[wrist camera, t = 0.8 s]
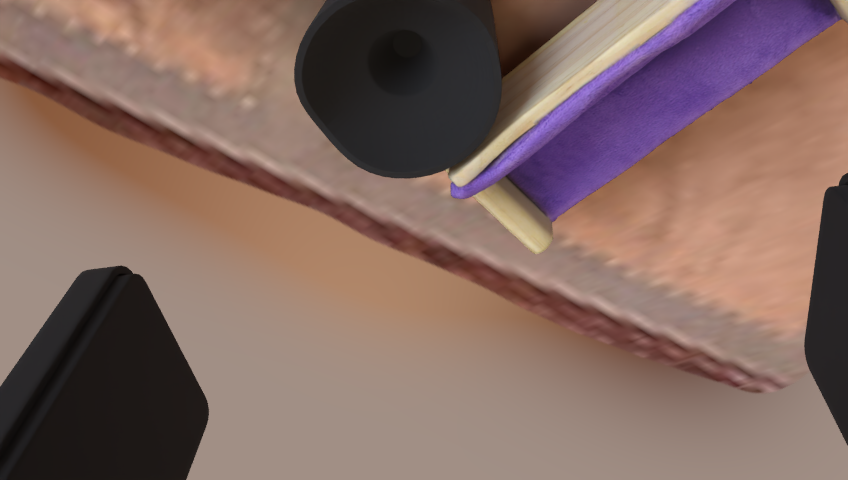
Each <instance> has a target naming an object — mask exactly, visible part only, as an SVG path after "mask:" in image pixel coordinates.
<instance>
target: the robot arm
mask: <svg viewBox="0 0 848 480" xmlns="http://www.w3.org/2000/svg"><path fill="white" fill-rule="evenodd" d="M804 347H805V355H806V360H807V364H808V367H809V369H810V371H811V373H812V375H813V377H814V379H815V381H816V383H817V385H818V387H819V389H820V391H821V393H822V395H823V397H824V399H825V401H826V403H827V405H828V407H829V409H830V411H831V413H832V415H833V417H834V419H835V421H836V423H837V425H838V427H839V429H840V431H841V433H842V435H843V437H844V439H845V441H846V443H847V445H848V173H846V174H845V175H843V176H842V178H841V180H840V182H839V186H834V187H829V188H828V189H827V190H826V192H825V196H824V201H823V208H822V216H821V223H820V231H819V238H818V245H817V253H816V260H815V268H814V275H813V283H812V290H811V297H810V305H809V312H808V320H807V327H806V334H805V345H804ZM208 415H209V409H208V403H207V400H206V397H205V395H204V393H203V391H202V389H201V387H200V386H199V384H198V382H197V380H196V378H195V376H194V374H193V372H192V370H191V368H190V366H189V364H188V362H187V361H186V359H185V357H184V355H183V353H182V351H181V350H180V347H179V345H178V343H177V341H176V339H175V338H174V335H173V334H172V332H171V330H170V328H169V326H168V324H167V322H166V320H165V318H164V316H163V314H162V312H161V310H160V309H159V307H158V305H157V303H156V301H155V299H154V297H153V295H152V293H151V291H150V289H149V288H148V285H147V284H146V282H145V280H144V279H143V277H141V276H140V275H138V274H133V273H132V271H131V270H129V269H128V268H127V267H124V266H115V267H107V268H99V269H91V270H86V271H83V272H82V273H81V274H80V275H79V276H78V277H77V278H76V280H75V281H74V282H73V284H72V285H71V287H70V288H69V290H68V291H67V292H66V294H65V295H64V297H63V298H62V300H61V301H60V302H59V304H58V305H57V307H56V308H55V309H54V311H53V312H52V314H51V315H50V317H49V318H48V319H47V321H46V322H45V324H44V325H43V327H42V328H41V329H40V331H39V332H38V334H37V335H36V337H35V338H34V339H33V341H32V342H31V344H30V345H29V347H28V348H27V349H26V351H25V353H24V354H23V355H22V357H21V358H20V359H19V361H18V362H17V364H16V365H15V366H14V368H13V369H12V371H11V372H10V374H9V375H8V376H7V378H6V379H5V381H4V382H3V384H2V385H1V386H0V480H186V479H187V476H188V473H189V471H190V468H191V465H192V463H193V460H194V457H195V455H196V452H197V449H198V446H199V444H200V441H201V439H202V436H203V433H204V430H205V428H206V425H207V421H208Z"/></svg>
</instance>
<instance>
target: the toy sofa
mask: <svg viewBox="0 0 848 480" xmlns="http://www.w3.org/2000/svg"><path fill="white" fill-rule="evenodd" d="M841 19H843V20H844V21H846V22H847V23H848V0H598V1H597V2H595V3H594V4H593V5H592V6H590V7H589V8H588V9H587V10H585V11H584V12H583V13H582V14H580V15H579V16H578V17H577V18H576V19H574V20H573V21H572V22H571V23H570V24H568V25H567V26H566V27H565V28H564V29H562V30H561V31H560V32H559V33H558V34H556V35H555V36H554V37H553V38H551V39H550V40H549V41H548V42H547V43H545V44H544V45H543V46H542V47H540V48H539V49H538V50H537V51H536V52H534V53H533V54H532V55H531V56H529V57H528V58H527V59H526V60H525V61H523V62H522V63H521V64H520V65H518V66H517V67H516V68H515V69H513V70H512V71H511V72H510V73H509V74H507V75H506V76H505V77H503V78H502V91H501V101H500V106H499V111H498V114H497V116H496V119H495V122H494V124H493V126H492V128H491V130H490V132H489V133H488V135H487V136H486V138H485V139H484V140H483V142H482V143H481V144H480V145H479V146H478V147H477V148H476V150H475V151H474V152H472V153H471V154H470V155H469V156H468V157H466V158H465V159H464V160H462V161H461V162H459V163H458V164H456V165H454V166H452V167H450V168H448V169H446V170H445V171H446V172H447V173H448V176H449V179H450V180H451V181H452V183H451V196H452V197H453V198H459V199H465V198H469V197H471V196H473V197H474V198H475V199H476V200H477V201H478V202H479V203H480V204H481V205H482V206H483V207H484V208H485V209H486V210H487V211H489V212H490V213H491V214H492V215H493V216H494V217H495V218H496V219H497V220H498V221H499V222H500V223H501V224H502V225H503V226H505V227H506V228H507V229H508V230H509V231H510V232H511V233H512V234H513V235H514V236H515V237H516V238H517V239H518V240H519V241H520V242H522V243H523V244H524V245H525V246H526V247H527V248H528V249H529V250H530V251H531V252H533V253H534V254H539V253H541V252H543V251H544V250H545V249H546V248H547V247H548V246H549V245H550V243H551V242H552V240H553V231H552V230H553V229H552V222H553V221H555V220H556V219H557V217H558V216H560V215H561V214H563V213H564V212H566V211H567V210H568V209H570V208H571V207H573V206H574V205H575V204H577V203H578V202H580V201H581V200H583V199H584V198H585V197H587V196H588V195H590V194H591V193H593V192H594V191H596V190H598V189H599V188H600V187H602V186H603V185H605V184H606V183H608V182H609V181H611V180H612V179H614V178H616V177H617V176H618V175H620V174H621V173H623V172H624V171H626V170H627V169H628V168H630V167H631V166H633V165H634V164H636V163H637V162H638V161H640V160H641V159H642V158H644V157H645V156H646V155H648V154H649V153H650V152H651V151H653V150H654V149H655V148H656V147H657V146H659V145H660V144H662V143H663V142H664V141H666V140H667V139H668V138H670V137H671V136H674V135H675V134H676V133H677V132H679V131H681V130H682V129H683V128H685V127H686V126H687V125H689V124H691V123H692V122H694V121H695V120H696V119H697V118H699V117H700V116H702V115H703V114H705V113H706V112H708V111H710V110H712V109H713V108H714V107H715V106H716V105H718V104H719V103H721V102H723V101H724V100H725V99H727V98H729V97H731V96H732V95H734V94H735V93H736V92H738V91H739V90H741V89H742V88H743V87H745V86H746V85H748V84H751V83H752V81H753V80H755V79H756V78H758V77H759V76H760V75H762V74H763V73H765V72H766V71H768V70H769V69H771V68H772V67H773V66H775V65H776V64H778V63H779V62H780V61H782V60H783V59H784V58H785V57H787V56H788V55H790V54H791V53H792V52H793V51H795V50H796V49H797V48H799V47H800V46H802V45H803V44H804V43H806V42H808V41H809V40H810V39H812V38H813V37H815V36H817V35H818V34H820V33H821V32H823V31H824V30H826V29H827V28H828V27H830V26H832V25H833V24H835V23H836V22H837V21H839V20H841Z"/></svg>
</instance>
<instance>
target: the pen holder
mask: <svg viewBox="0 0 848 480" xmlns="http://www.w3.org/2000/svg"><path fill="white" fill-rule="evenodd" d="M294 74H295V86H296V91H297V94H298V97H299V99H300V102H301V104H302V105H303V107H304V109H305V110H306V112H307V113H308V115H309V116H310V117H311V119H312V120H313V121H314V122H315V124H316V125H317V126H318V127H319V128H320V130H321V131H322V132H323V133H324V134H325V136H326V137H327V138H328V139H329V140H330V141H331V142H332V144H333V145H334V146H335V147H336V148H337V149H338V150H339V151H340V152H341V153H342V154H343V155H344V156H345V157H346V158H347V159H349V160H350V161H351V162H353V163H354V164H355V165H357V166H358V167H360V168H362V169H364V170H366V171H368V172H370V173H373V174H377V175H380V176H384V177H391V178H417V177H423V176H428V175H432V174H435V173H438V172H441V171H444V170H446V169H448V168H450V167H452V166H454V165H456V164H458V163H459V162H461V161H462V160H464V159H465V158H466V157H468V156H469V155H470V154H471V153H472V152H474V151H475V150H476V148H477V147H478V146H479V145H480V144H481V143H482V142H483V140H484V139H485V138H486V136H487V135H488V133H489V132H490V130H491V128H492V126H493V124H494V122H495V119H496V116H497V114H498V111H499V106H500V101H501V91H502V78H501V66H500V59H499V52H498V45H497V38H496V31H495V24H494V17H493V12H492V6H491V2H490V0H326V2H325V3H324V5H323V6H322V8H321V9H320V11H319V12H318V14H317V16H316V17H315V19H314V20H313V22H312V23H311V25H310V26H309V28H308V30H307V31H306V33H305V35H304V37H303V39H302V41H301V43H300V46H299V50H298V53H297V56H296V62H295V69H294Z"/></svg>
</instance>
